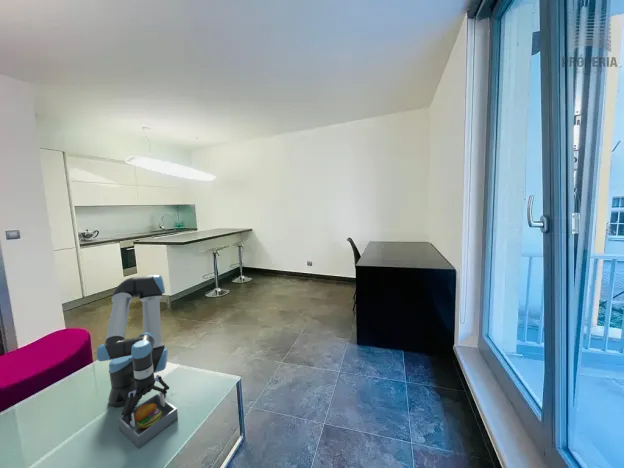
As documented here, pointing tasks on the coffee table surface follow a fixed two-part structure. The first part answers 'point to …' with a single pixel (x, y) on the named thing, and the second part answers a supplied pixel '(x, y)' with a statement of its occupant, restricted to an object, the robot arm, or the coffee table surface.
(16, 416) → the coffee table surface
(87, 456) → the coffee table surface
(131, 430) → the bin
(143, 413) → the cheeseburger
